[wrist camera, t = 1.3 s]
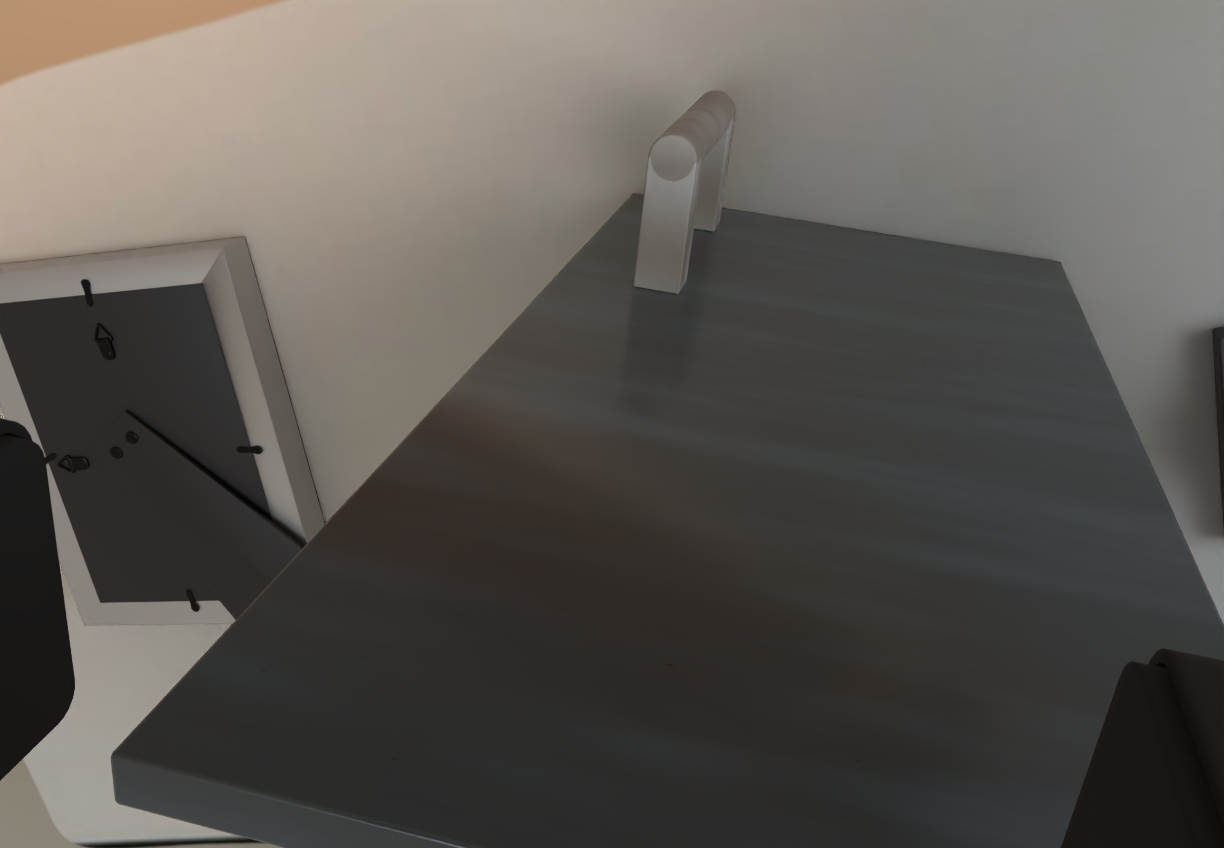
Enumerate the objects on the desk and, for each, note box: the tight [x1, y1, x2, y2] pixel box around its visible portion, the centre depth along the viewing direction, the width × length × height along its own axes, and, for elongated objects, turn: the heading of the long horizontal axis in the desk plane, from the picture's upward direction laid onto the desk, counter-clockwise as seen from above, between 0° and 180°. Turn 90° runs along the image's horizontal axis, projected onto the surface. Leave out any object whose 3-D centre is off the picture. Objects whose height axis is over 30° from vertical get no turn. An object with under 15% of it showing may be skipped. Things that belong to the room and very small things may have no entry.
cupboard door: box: [111, 90, 1224, 848], centre depth 32 cm, size 6×18×38 cm, turn 84°
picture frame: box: [0, 237, 325, 626], centre depth 61 cm, size 16×3×21 cm
